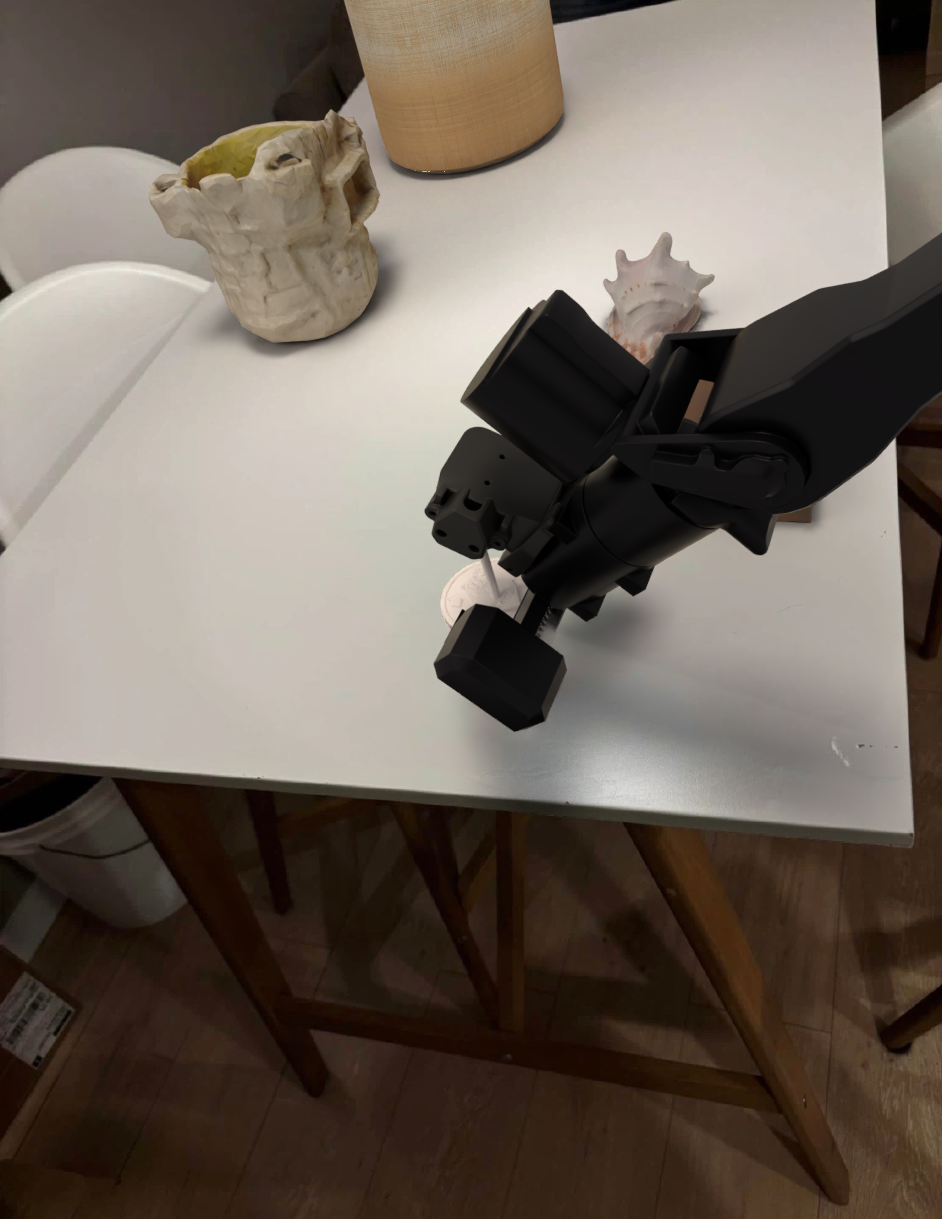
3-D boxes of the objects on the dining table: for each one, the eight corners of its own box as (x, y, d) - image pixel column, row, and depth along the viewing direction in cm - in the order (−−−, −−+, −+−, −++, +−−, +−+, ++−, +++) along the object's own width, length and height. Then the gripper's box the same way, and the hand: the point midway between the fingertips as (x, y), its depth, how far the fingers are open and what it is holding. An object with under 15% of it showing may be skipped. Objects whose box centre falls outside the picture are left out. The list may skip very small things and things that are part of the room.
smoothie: (529, 739, 59) (485, 602, 48) (455, 700, 62) (398, 564, 52) (582, 669, 61) (550, 525, 51) (508, 635, 65) (464, 494, 54)
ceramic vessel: (215, 191, 110) (260, -10, 90) (385, 299, 114) (464, 130, 94) (113, 290, 97) (139, 81, 77) (309, 409, 101) (382, 239, 81)
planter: (508, 185, 112) (469, -18, 96) (354, 177, 124) (296, -4, 108) (598, 94, 124) (576, -100, 108) (449, 96, 136) (410, -78, 120)
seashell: (718, 290, 87) (717, 196, 80) (708, 365, 80) (705, 269, 73) (615, 297, 90) (604, 208, 83) (596, 370, 83) (583, 278, 76)
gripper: (569, 301, 47) (438, 442, 60) (419, 552, 37) (301, 658, 50) (720, 431, 50) (564, 540, 62) (618, 699, 40) (457, 764, 53)
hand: (478, 615), depth 57 cm, fingers open, 8 cm apart
